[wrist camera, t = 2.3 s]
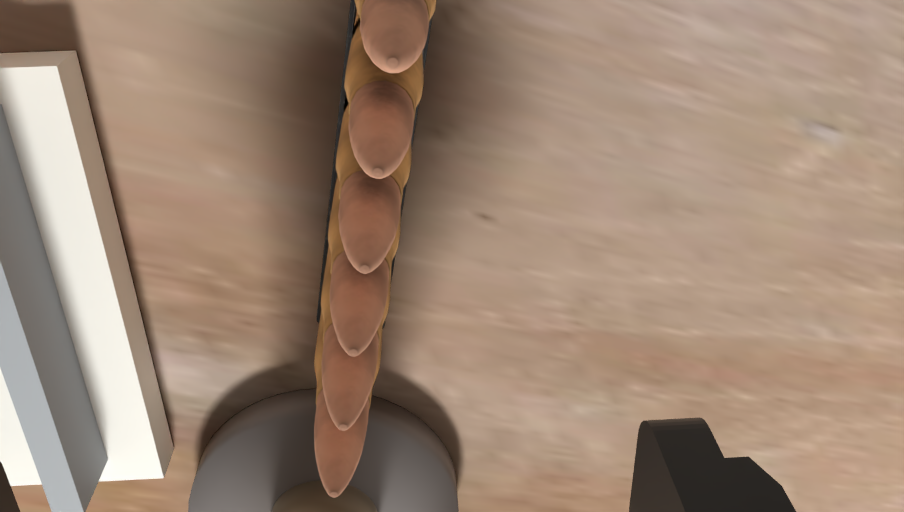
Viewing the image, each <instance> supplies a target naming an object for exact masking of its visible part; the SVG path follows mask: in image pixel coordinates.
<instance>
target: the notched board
mask: <svg viewBox="0 0 904 512" xmlns="http://www.w3.org/2000/svg"><path fill="white" fill-rule="evenodd" d="M173 450H174V447H173V443H172V439H171V435H170V431H169V427H168V423H167V419H166V415H165V411H164V406H163V402H162V398H161V394H160V390H159V386H158V382H157V378H156V374H155V370H154V366H153V362H152V358H151V354H150V350H149V345H148V341H147V337H146V333H145V329H144V325H143V321H142V317H141V313H140V309H139V305H138V301H137V297H136V293H135V289H134V284H133V280H132V276H131V272H130V268H129V264H128V260H127V256H126V252H125V248H124V244H123V240H122V236H121V232H120V228H119V223H118V219H117V215H116V211H115V207H114V203H113V199H112V195H111V191H110V187H109V183H108V179H107V175H106V171H105V167H104V162H103V158H102V154H101V150H100V146H99V142H98V138H97V134H96V130H95V126H94V122H93V118H92V114H91V110H90V106H89V101H88V97H87V93H86V89H85V85H84V81H83V77H82V73H81V69H80V65H79V61H78V57H77V53H76V50H75V51H47V52H19V53H0V462H1V463H2V465H3V467H4V470H5V473H6V475H7V478H8V481H9V483H10V486H19V485H38V484H42V486H43V488H44V491H45V494H46V497H47V500H48V502H49V505H50V508H51V511H52V512H85V511H86V509H87V506H88V504H89V502H90V500H91V497H92V495H93V493H94V490H95V488H96V486H97V484H98V481H117V480H136V479H156V478H164V476H165V473H166V471H167V468H168V465H169V462H170V459H171V456H172V453H173Z"/></svg>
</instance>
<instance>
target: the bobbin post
mask: <svg viewBox="0 0 904 512" xmlns="http://www.w3.org/2000/svg"><path fill="white" fill-rule="evenodd" d="M316 390H317V389H308V390H298V391H293V392H288V393H283V394H279V395H276V396H273V397H270V398H267V399H264V400H261V401H259V402H257V403H255V404H253V405H251V406H248V407H247V408H245V409H244V410H242V411H240V412H239V413H237V414H236V415H234V416H233V417H232V418H230V419H229V420H228V421H227V422H226V423H224V424H223V425H222V426H221V427H220V429H219V430H218V431H217V432H216V433H215V434H214V435H213V437H212V438H211V440H210V441H209V443H208V444H207V446H206V448H205V450H204V452H203V455H202V457H201V460H200V463H199V466H198V469H197V473H196V476H195V479H194V483H193V486H192V489H191V494H190V498H189V510H188V512H458V498H457V485H456V476H455V470H454V466H453V463H452V460H451V458H450V456H449V453H448V451H447V449H446V447H445V446H444V445H443V443H442V442H441V440H440V439H439V437H438V436H437V435H436V434H435V433H434V432H433V431H432V430H431V429H430V428H429V427H428V426H427V425H426V424H425V423H424V422H423V421H421V420H420V419H419V418H417V417H416V416H415V415H413V414H412V413H410V412H408V411H407V410H405V409H403V408H402V407H400V406H398V405H395V404H393V403H391V402H389V401H387V400H384V399H381V398H378V397H375V396H371V404H370V409H369V414H368V425H367V431H366V436H365V441H364V446H363V450H362V454H361V457H360V460H359V463H358V465H357V468H356V470H355V472H354V474H353V477H352V479H351V480H350V482H349V484H348V485H347V487H346V488H345V489H344V491H343V492H342V493H341V494H340V495H339V496H338V497H335V498H333V497H331V496H329V495H328V493H327V492H326V490H325V488H324V486H323V484H322V481H321V478H320V475H319V471H318V467H317V462H316V456H315V447H314V423H315V414H316Z"/></svg>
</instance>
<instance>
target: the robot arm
mask: <svg viewBox="0 0 904 512" xmlns="http://www.w3.org/2000/svg"><path fill="white" fill-rule="evenodd" d="M0 512H20V510H19V507H18V505H17V502H16V499H15V497H14V494H13V491H12V489H11V486H10V483H9V481H8V478H7V475H6V473H5V470H4V467H3V465H2V463H1V462H0ZM629 512H796V511H795V509H794V507H793V505H792V504H791V502H790V500H789V498H788V496H787V495H786V493H785V491H784V489H783V487H782V486H781V485H780V484H779V483H778V482H777V481H775V480H774V479H773V478H772V477H771V476H770V475H769V474H768V473H766V472H765V471H764V470H763V469H762V468H761V467H760V466H759V465H757V464H756V463H755V462H754V461H753V460H752V459H751V458H749V457H735V458H724V456H723V454H722V452H721V450H720V448H719V446H718V444H717V442H716V440H715V438H714V436H713V434H712V432H711V430H710V428H709V426H708V425H707V423H706V422H705V420H703V419H702V418H684V419H666V420H648V421H643V422H642V423H641V425H640V428H639V432H638V439H637V448H636V456H635V465H634V473H633V481H632V490H631V498H630V507H629Z"/></svg>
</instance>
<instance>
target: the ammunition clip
mask: <svg viewBox="0 0 904 512" xmlns="http://www.w3.org/2000/svg"><path fill="white" fill-rule="evenodd" d="M436 1H437V0H351V4H350V13H349V22H348V31H347V41H346V50H345V59H344V69H343V78H342V87H341V97H340V106H339V115H338V124H337V134H336V143H335V152H334V162H333V171H332V180H331V189H330V199H329V208H328V217H327V227H326V236H325V245H324V255H323V264H322V273H321V282H320V292H319V301H318V310H317V322H319V329H318V335H317V342H316V349H315V358H314V367H315V374H316V379H317V390H316V414H315V423H314V447H315V456H316V462H317V467H318V471H319V475H320V478H321V481H322V484H323V486H324V488H325V490H326V492H327V493H328V495H329V496H331V497H333V498H335V497H338V496H339V495H340V494H341V493H342V492H343V491H344V489H345V488H346V487H347V485H348V484H349V482H350V480H351V479H352V477H353V474H354V472H355V470H356V468H357V465H358V463H359V460H360V457H361V454H362V450H363V446H364V441H365V436H366V431H367V425H368V414H369V409H370V404H371V396H372V388H373V385H374V382H375V380H376V377H377V374H378V371H379V366H380V359H381V345H382V329H383V328H384V325H385V319H386V316H387V313H388V308H389V302H390V289H391V280H392V274H393V267H394V261H395V254H396V251H397V249H398V244H399V238H400V222H401V216H402V209H403V203H404V196H405V190H406V183H407V180H408V178H409V174H410V167H411V151H412V145H413V138H414V132H415V125H416V119H417V112H418V106H419V102H420V100H421V97H422V90H423V83H424V78H423V74H424V67H425V61H426V54H427V48H428V42H429V35H430V29H431V22H432V16H433V14H434V12H435V7H436Z"/></svg>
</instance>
